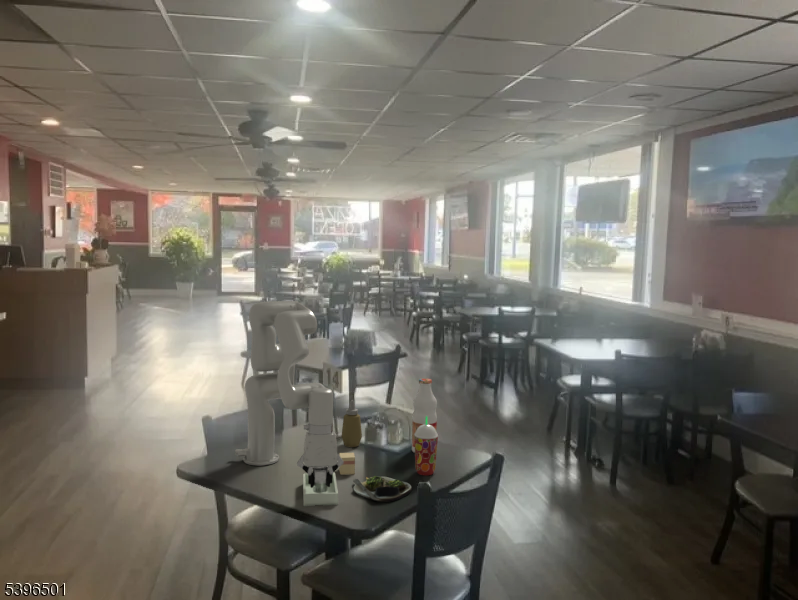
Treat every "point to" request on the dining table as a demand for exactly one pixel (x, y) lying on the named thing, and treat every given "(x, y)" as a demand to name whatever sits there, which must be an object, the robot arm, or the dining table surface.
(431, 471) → the smoothie
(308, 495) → the tote
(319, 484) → the steel can
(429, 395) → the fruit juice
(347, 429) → the squeeze bottle
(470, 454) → the dining table surface
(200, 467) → the dining table surface
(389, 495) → the salad plate
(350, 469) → the cardboard box
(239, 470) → the dining table surface
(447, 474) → the dining table surface
